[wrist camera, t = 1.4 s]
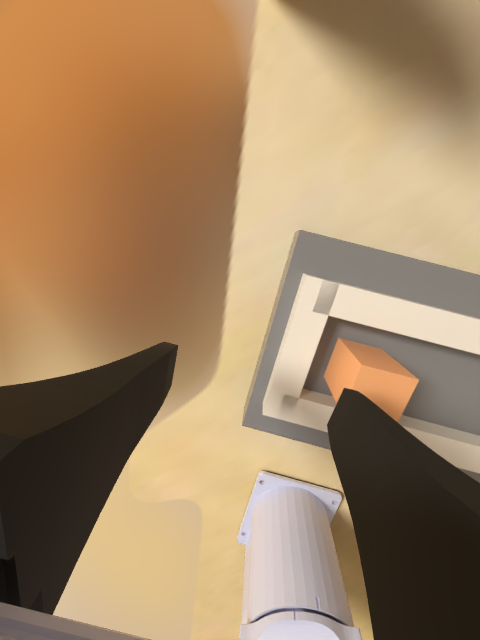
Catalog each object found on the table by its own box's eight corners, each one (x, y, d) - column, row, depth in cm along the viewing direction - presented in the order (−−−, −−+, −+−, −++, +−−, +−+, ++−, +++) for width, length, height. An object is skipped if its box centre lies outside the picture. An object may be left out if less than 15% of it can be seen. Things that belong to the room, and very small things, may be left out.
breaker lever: (365, 387, 18) (395, 427, 14) (323, 376, 18) (341, 413, 14) (382, 348, 17) (419, 379, 13) (338, 337, 17) (361, 364, 13)
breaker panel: (513, 479, 22) (567, 528, 18) (244, 406, 22) (240, 439, 18) (630, 317, 17) (733, 335, 14) (295, 232, 18) (303, 227, 14)
